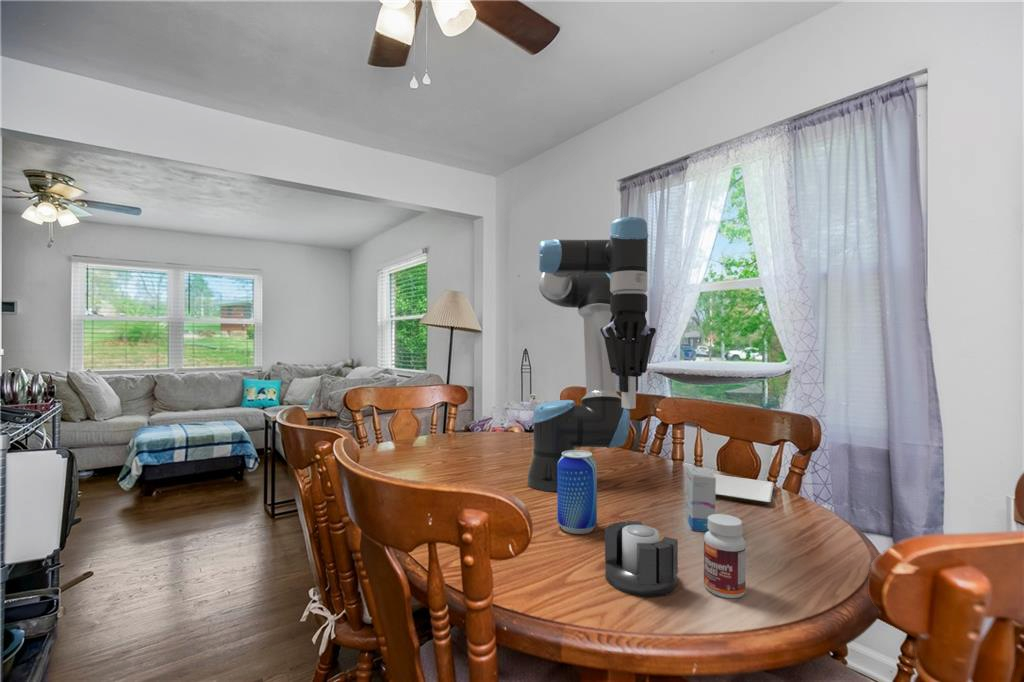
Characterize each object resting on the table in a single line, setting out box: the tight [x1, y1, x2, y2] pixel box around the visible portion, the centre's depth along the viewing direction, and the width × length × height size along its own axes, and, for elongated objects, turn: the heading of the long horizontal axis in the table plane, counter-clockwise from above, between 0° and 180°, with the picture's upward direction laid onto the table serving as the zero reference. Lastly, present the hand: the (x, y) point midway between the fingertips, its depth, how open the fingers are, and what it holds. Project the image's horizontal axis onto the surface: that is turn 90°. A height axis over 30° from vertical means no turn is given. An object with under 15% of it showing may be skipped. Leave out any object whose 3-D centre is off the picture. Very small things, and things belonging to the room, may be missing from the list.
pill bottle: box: [703, 513, 746, 599], centre depth 76 cm, size 6×6×11 cm
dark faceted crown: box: [604, 520, 679, 598], centre depth 80 cm, size 12×12×8 cm
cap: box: [622, 524, 660, 575], centre depth 80 cm, size 6×6×6 cm
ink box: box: [684, 465, 716, 532], centre depth 104 cm, size 9×5×12 cm, turn 168°
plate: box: [712, 473, 775, 505], centre depth 127 cm, size 19×19×2 cm
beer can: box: [556, 449, 598, 535], centre depth 102 cm, size 8×8×16 cm
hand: (628, 407), depth 98 cm, fingers closed
